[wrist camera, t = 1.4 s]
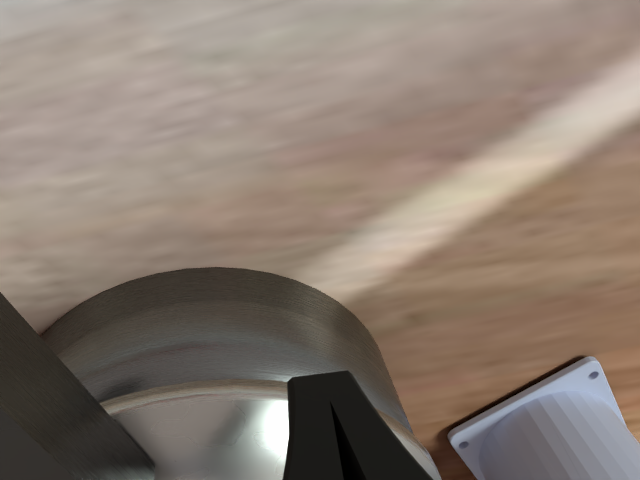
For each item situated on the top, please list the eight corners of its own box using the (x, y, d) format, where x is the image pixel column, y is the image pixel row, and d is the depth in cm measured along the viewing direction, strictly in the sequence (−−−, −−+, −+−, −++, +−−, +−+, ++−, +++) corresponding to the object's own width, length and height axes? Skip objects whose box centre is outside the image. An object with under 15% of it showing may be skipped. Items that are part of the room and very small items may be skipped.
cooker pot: (455, 337, 25) (521, 449, 20) (286, 553, 31) (304, 681, 26) (-87, 143, 17) (-206, 247, 12) (-176, 485, 23) (-281, 653, 18)
